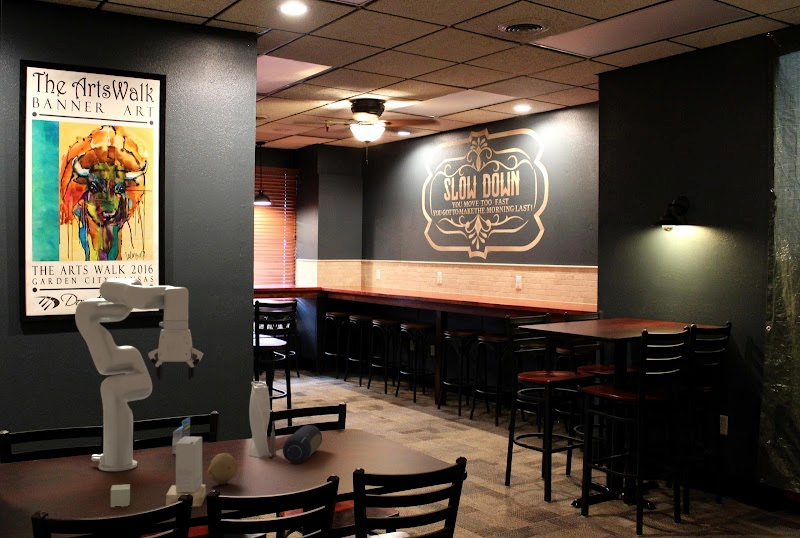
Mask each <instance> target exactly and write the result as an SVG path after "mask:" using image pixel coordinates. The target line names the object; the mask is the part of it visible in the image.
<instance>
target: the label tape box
mask: <svg viewBox="0 0 800 538" xmlns="http://www.w3.org/2000/svg"><path fill="white" fill-rule="evenodd" d="M181 424H182V425H181V426H180V427H178V428H177V429H175V430H173V432H172V451H171V454H172V455H176V443H177V442H178V441H179V440H181V439H182V438H183V437H184V436H187V437H191V435H190V434H191V417H190V416H189V417H187V418H185V419H183V420H182V421H181Z"/></svg>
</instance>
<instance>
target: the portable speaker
mask: <svg viewBox="0 0 800 538" xmlns="http://www.w3.org/2000/svg"><path fill="white" fill-rule="evenodd" d="M322 441H323V435H322V433H321V431H320V429H319V428H318V427H316V426H314V425H312V424H307V425H303V426H301V427H300V428H298V430H296V431H295V432H294V433H293V434H292V435H290V436H289V437H288V438H287V439H286V440H285V441H284V444H283V447H282V453H283V457H284V458H285V460H286V461H287V462H289V463H291V464H292V463H293V464H301V463H304V462H305V461H306V460H308V459H309V458H310V457H311V456H312V455H313V454H314V453H315V452H316V451H317V450H318V449H319V447H320V446H321V444H322Z"/></svg>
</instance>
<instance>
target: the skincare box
mask: <svg viewBox="0 0 800 538" xmlns="http://www.w3.org/2000/svg"><path fill="white" fill-rule="evenodd" d="M175 485H176V492H196V490H197V489H198V488H199V487H200V486H201V485H203V436H190V437H187V436H184V437H183V438H182V439H181V440H179V441H178V442H177V443H176V454H175Z"/></svg>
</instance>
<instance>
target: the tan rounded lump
mask: <svg viewBox="0 0 800 538" xmlns="http://www.w3.org/2000/svg"><path fill="white" fill-rule="evenodd" d="M237 472H238V464H237V461H236V459H235V457H234V456H232V455H231V454H230V453H227V452H223V453H218V454H216V455H215V456H214V457H213V458H212V460H211V461H210V464H209V467H208V469H207V473H206V475H207V477H208V479H209V480H211V481H213V482H214V483H216V484H219V485H226V484H227V483H228V482H230V481H231V480H232V479H233V478H234V477H235V476H236V474H237Z"/></svg>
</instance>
